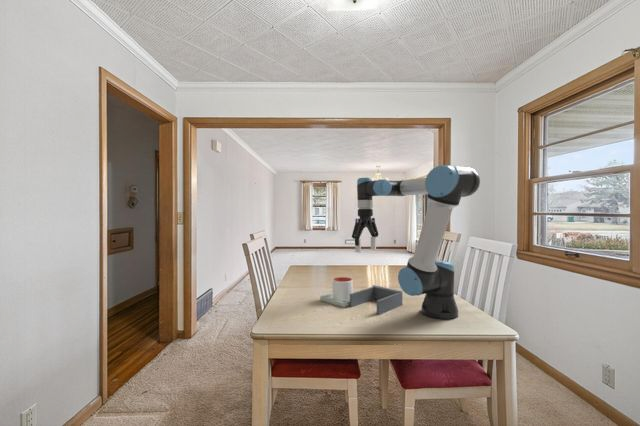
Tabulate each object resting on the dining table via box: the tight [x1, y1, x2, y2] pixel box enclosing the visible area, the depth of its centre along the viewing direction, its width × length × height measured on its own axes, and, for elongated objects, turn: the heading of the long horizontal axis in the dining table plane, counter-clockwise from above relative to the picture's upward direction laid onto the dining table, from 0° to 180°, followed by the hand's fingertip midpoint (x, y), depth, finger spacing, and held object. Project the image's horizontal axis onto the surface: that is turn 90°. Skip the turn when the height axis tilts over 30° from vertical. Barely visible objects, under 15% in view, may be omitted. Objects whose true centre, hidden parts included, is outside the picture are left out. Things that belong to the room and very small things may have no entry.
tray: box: [319, 292, 350, 309], centre depth 160 cm, size 16×16×2 cm
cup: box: [332, 276, 354, 301], centre depth 160 cm, size 10×10×10 cm
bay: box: [349, 284, 403, 316], centre depth 151 cm, size 16×19×7 cm
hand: (366, 250), depth 161 cm, fingers open, 13 cm apart
